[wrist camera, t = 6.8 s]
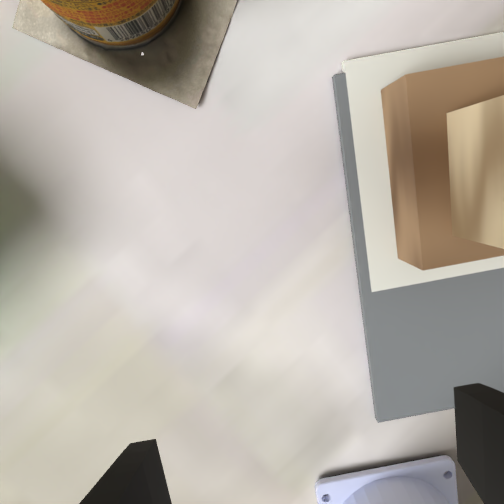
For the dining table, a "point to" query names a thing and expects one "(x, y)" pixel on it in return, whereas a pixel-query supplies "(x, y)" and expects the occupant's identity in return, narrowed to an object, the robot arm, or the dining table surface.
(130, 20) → the condiment
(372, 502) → the robot arm
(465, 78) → the walnut base
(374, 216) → the mat
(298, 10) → the dining table surface
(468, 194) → the maple cube
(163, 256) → the dining table surface
